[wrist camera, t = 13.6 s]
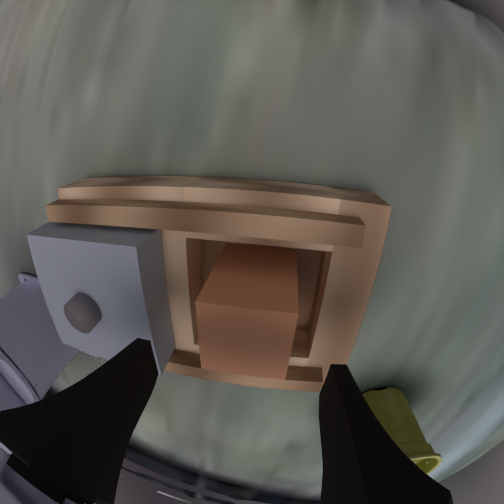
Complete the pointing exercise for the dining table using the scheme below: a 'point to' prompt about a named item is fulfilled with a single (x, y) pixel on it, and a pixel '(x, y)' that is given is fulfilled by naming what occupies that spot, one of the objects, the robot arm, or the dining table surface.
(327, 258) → the puzzle board
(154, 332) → the slate cover
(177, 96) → the dining table surface
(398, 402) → the plant pot
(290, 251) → the terracotta block
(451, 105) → the dining table surface
